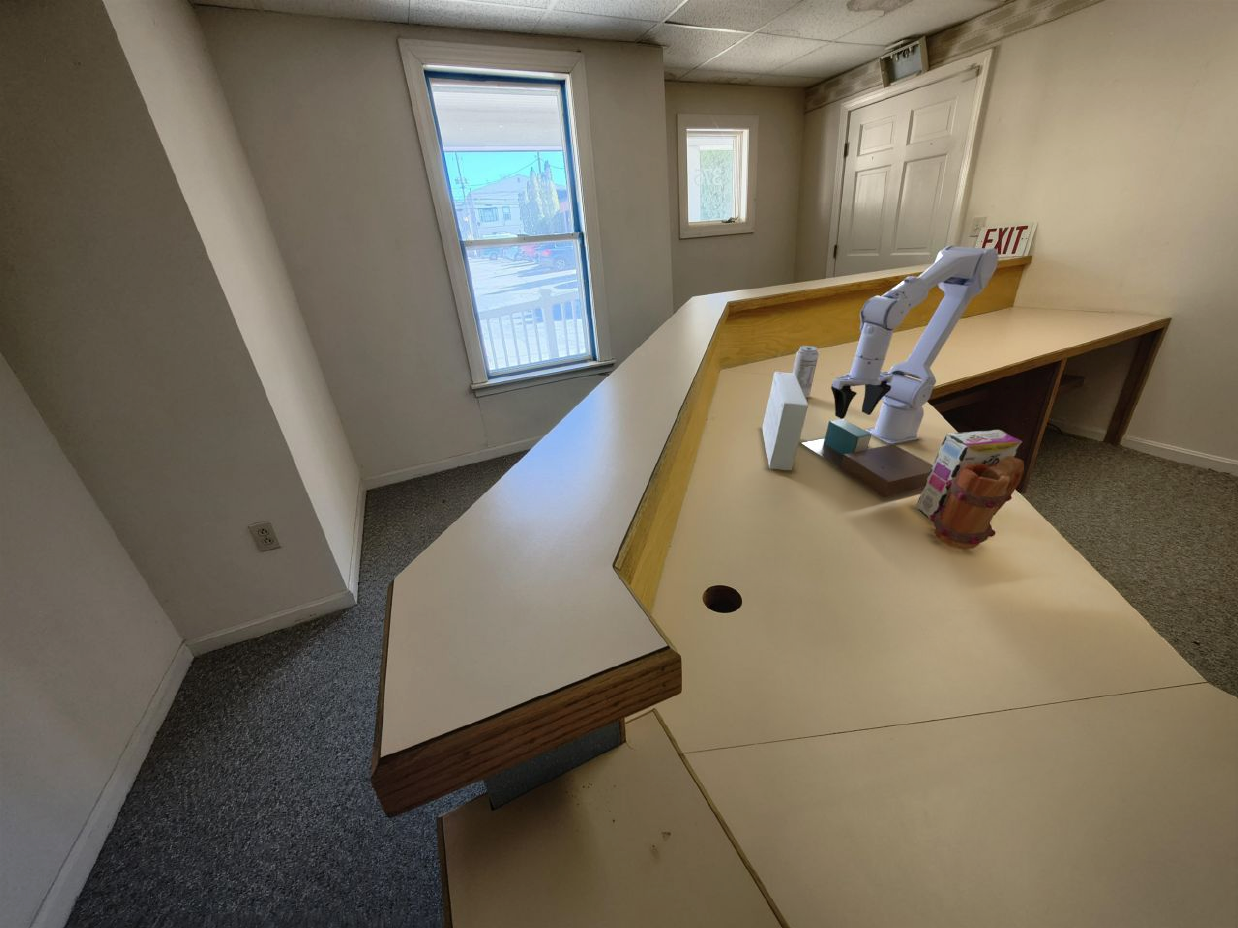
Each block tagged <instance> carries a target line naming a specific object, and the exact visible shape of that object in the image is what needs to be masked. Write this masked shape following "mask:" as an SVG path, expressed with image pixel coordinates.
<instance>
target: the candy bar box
mask: <svg viewBox="0 0 1238 928" xmlns="http://www.w3.org/2000/svg"><path fill="white" fill-rule="evenodd" d="M1022 443H1023V441H1022V440H1020V439H1019V438H1017V437H1015V436H1013V435H1011V434H1009V433H1007V432H1005V431H1004V430H1000V429H991V430H979V431H977V430H976V431H966V432H950V433H946V434H945V437H944V438H943V441H942V443H941V446H940V448H939V450H938V453H937V455H936V457H935V459H934V462H933V464H932V465H933V467H932V469H931V472H930V474H929V476H928V478H927V481H926V483H925V486H924V487H923V488H922V490H921V492H920V495H919V498H918V500H917V502H916V504H915V507H914V508H915V509H916V510H917V511H918V512H919V513H921V514H922V515H923V516H924V517H925V518H926V519H927V520H929V521H930V522H932V520H931V519H930V515H932V514H937V513H938V512H939V511H941V510H943V509H944V508H945V506H946V504H947V501H948V499H949V496H950V493H951V491H950V488H949V487H948V486H947V485H946V482H947V481H948V480H953V479H954V478H955V477H957V476H959V474H960V472H961V470H962V468H963V467H964V466H965V465H966V464H971V465H973V464H974V463H982V464H986V465H987V466H988V467H992V466H996V465H997V464H998V463H999V462H1000V461H1001V460H1003V459H1004V458H1005V457H1007V456H1013V457H1015V456H1016V455H1017V452H1018V450H1019V449H1020V447H1021V445H1022Z"/></svg>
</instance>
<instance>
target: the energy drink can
mask: <svg viewBox="0 0 1238 928" xmlns="http://www.w3.org/2000/svg"><path fill="white" fill-rule="evenodd" d="M818 349H819V348H818V347H816V346H813V345H800V346H799V349H798V350H797V351H796V354H795V359H794V365H793V369H792V370H793V371H792V373H794V374H795V376H796V378H797V380H798V383H799V385H800V387H801V390H802V392H803V394H804V397H805V399H806V400H807V399H808V398H809V397H810V395H811V390H812V386H813V383H814V377H815V372H816V368H817V365H818V364H817V363H818V359H819V355H820V354H819V352H818Z"/></svg>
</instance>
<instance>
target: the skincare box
mask: <svg viewBox="0 0 1238 928" xmlns="http://www.w3.org/2000/svg"><path fill="white" fill-rule="evenodd" d="M807 401H808V400H807V399H805V397H804V394H803V392H802V390H801V387H800V385H799V383H798V380H797V378H796V376H795V374H794V373H793V372H781V371H774V372H773V377H772V383H771V387H770V392H769V396H768V401H767V404H766V411H765V415H764V420H763V423H762V424H763V425H762V429H761V430H762V435H763V441H764V447H765V452H766V457H767V463H768V469H771V470H779V471H780V470H781V471H792V470H793V466H794V463H795V459H796V455H797V451H798V446H799V443H800V440H801V439H800V438H801V435H802V431H803V428H804V423H805V419H806V416H807V412H808V408H809V403H808V402H807Z"/></svg>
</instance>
